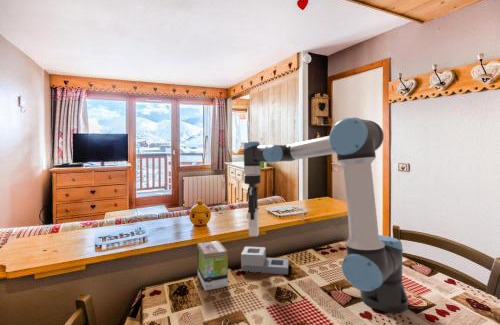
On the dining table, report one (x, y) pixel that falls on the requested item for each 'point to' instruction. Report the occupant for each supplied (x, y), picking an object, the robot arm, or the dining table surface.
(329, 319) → the dining table surface
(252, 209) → the robot arm
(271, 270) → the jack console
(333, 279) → the dining table surface
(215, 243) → the tea box
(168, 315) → the dining table surface
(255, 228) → the plug
